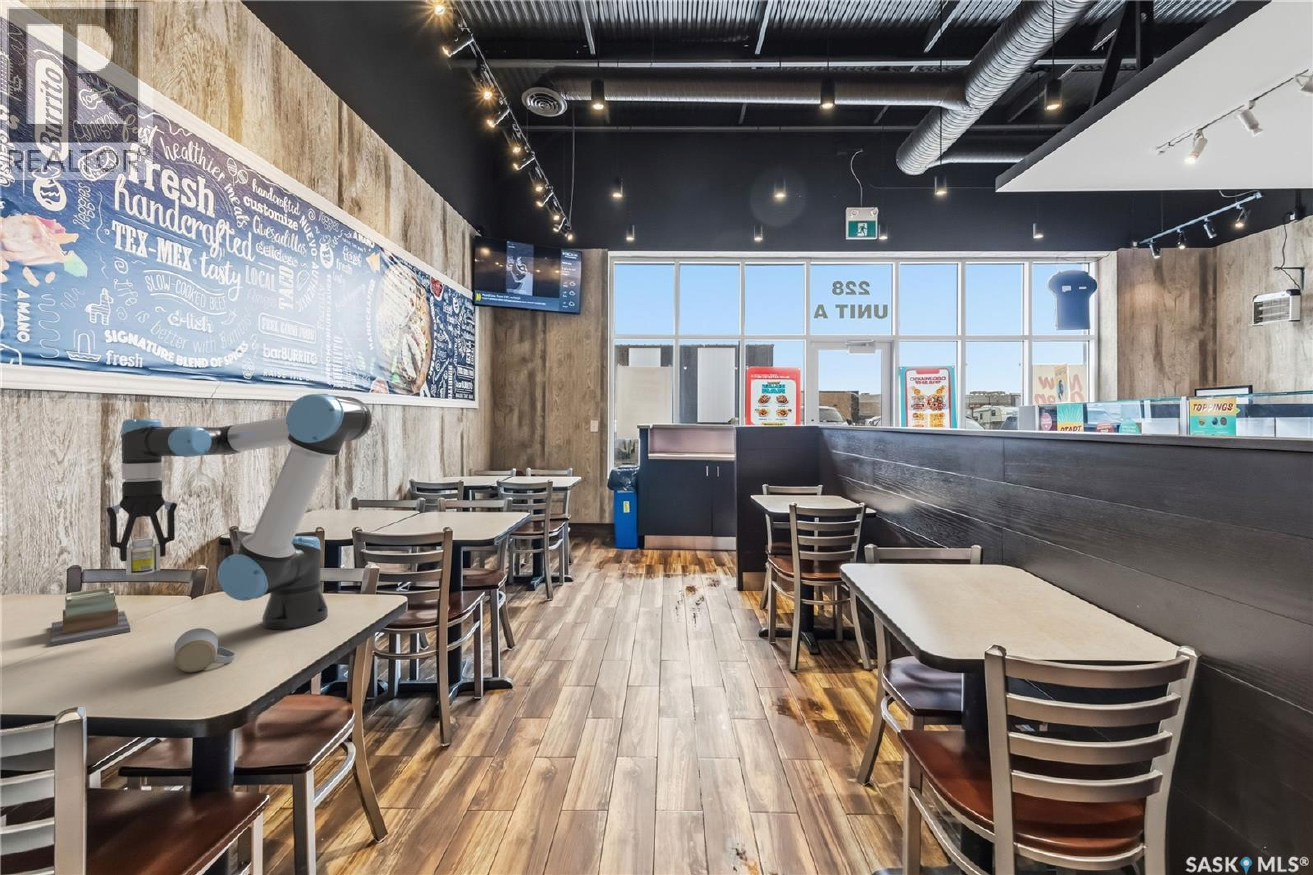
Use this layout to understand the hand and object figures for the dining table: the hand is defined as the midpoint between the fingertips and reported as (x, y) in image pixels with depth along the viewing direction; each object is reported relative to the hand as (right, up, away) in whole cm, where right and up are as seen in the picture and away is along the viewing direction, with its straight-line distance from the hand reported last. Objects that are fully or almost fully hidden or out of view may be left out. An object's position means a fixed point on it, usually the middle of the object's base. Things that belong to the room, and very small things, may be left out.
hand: (143, 571), depth 144 cm
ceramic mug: (+30, -17, -19) cm, 39 cm away
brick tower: (-18, -16, +5) cm, 25 cm away
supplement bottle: (0, -1, 0) cm, 1 cm away
